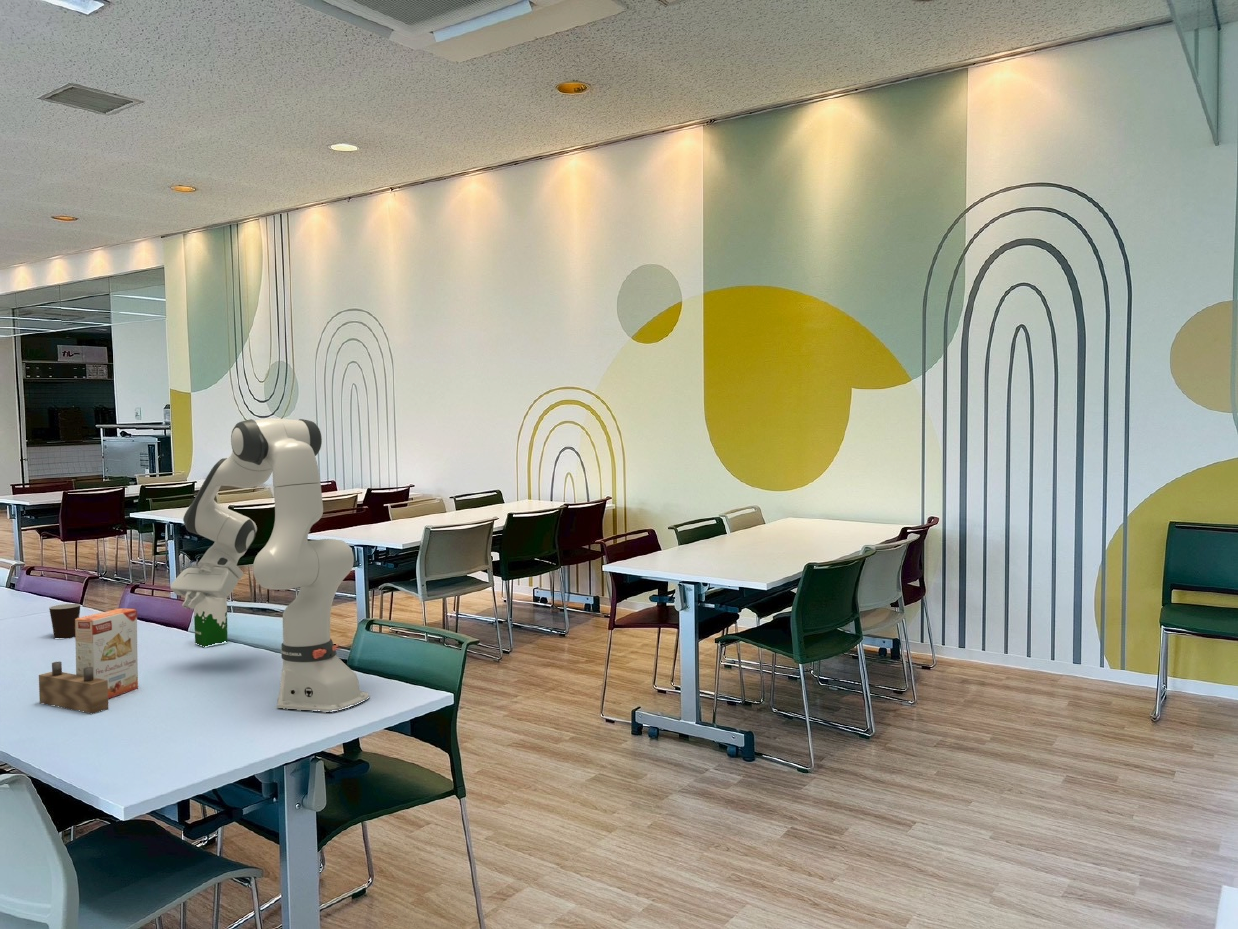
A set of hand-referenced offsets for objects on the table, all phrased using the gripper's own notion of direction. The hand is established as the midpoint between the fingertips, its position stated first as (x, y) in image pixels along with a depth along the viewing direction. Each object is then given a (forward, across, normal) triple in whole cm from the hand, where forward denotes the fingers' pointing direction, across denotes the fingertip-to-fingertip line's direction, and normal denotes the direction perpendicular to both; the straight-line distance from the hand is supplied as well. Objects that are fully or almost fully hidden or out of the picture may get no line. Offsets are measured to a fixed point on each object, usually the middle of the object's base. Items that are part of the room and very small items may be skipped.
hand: (187, 607), depth 242 cm
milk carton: (-7, -25, +32) cm, 41 cm away
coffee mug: (-1, -78, +24) cm, 81 cm away
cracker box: (+28, -4, -1) cm, 28 cm away
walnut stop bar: (+35, -3, -8) cm, 36 cm away
